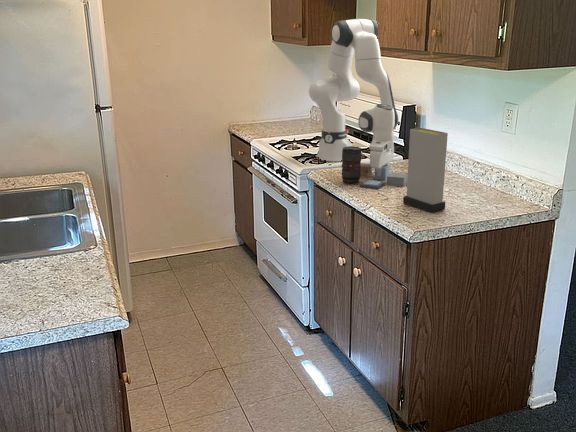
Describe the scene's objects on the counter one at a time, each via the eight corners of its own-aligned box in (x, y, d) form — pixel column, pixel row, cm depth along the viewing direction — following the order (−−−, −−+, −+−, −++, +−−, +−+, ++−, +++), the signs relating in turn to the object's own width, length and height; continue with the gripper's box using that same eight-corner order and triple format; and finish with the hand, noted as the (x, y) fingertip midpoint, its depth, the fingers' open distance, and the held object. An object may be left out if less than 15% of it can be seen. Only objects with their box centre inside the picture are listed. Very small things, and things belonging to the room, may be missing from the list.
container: (417, 206, 228) (411, 127, 222) (454, 210, 212) (449, 126, 207) (402, 209, 224) (397, 129, 219) (440, 214, 208) (434, 128, 203)
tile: (366, 182, 252) (367, 179, 252) (384, 184, 248) (384, 181, 248) (359, 187, 245) (359, 183, 245) (378, 189, 242) (378, 185, 241)
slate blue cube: (378, 175, 262) (378, 164, 261) (389, 177, 260) (389, 166, 258) (374, 178, 258) (374, 167, 257) (385, 179, 256) (385, 168, 254)
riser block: (391, 181, 254) (391, 172, 253) (407, 182, 252) (407, 173, 250) (386, 185, 248) (387, 176, 247) (403, 187, 246) (403, 177, 244)
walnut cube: (361, 174, 266) (361, 163, 264) (371, 175, 264) (372, 164, 262) (357, 176, 262) (357, 165, 260) (367, 177, 260) (368, 166, 258)
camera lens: (359, 185, 248) (360, 150, 243) (340, 184, 249) (341, 149, 245) (361, 180, 255) (362, 146, 251) (342, 179, 257) (343, 145, 252)
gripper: (384, 137, 264) (383, 168, 269) (367, 146, 247) (366, 178, 252) (398, 139, 261) (396, 169, 266) (382, 148, 244) (380, 180, 249)
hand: (381, 174), depth 259 cm, fingers closed on slate blue cube, 5 cm apart
